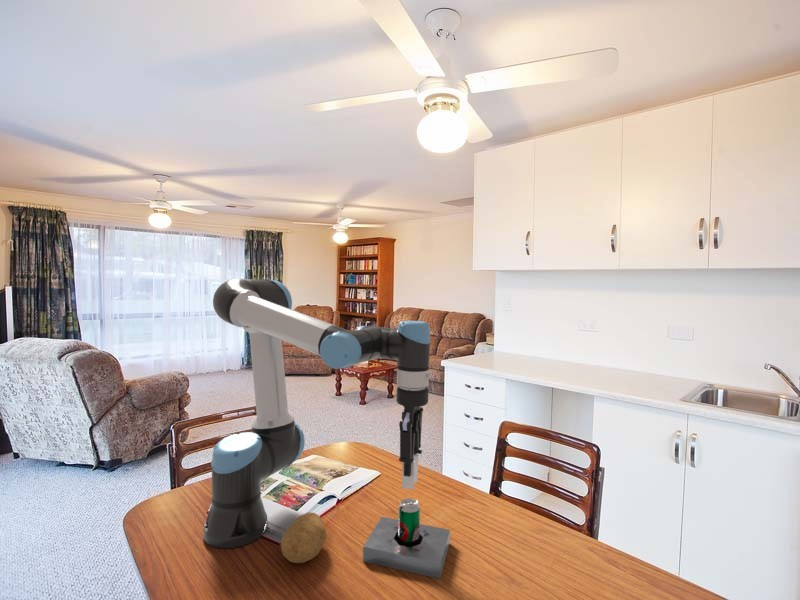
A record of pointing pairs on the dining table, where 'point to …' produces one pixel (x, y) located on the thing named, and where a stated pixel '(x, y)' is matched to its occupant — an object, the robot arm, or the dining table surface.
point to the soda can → (409, 523)
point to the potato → (303, 538)
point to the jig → (407, 549)
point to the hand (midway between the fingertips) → (409, 484)
